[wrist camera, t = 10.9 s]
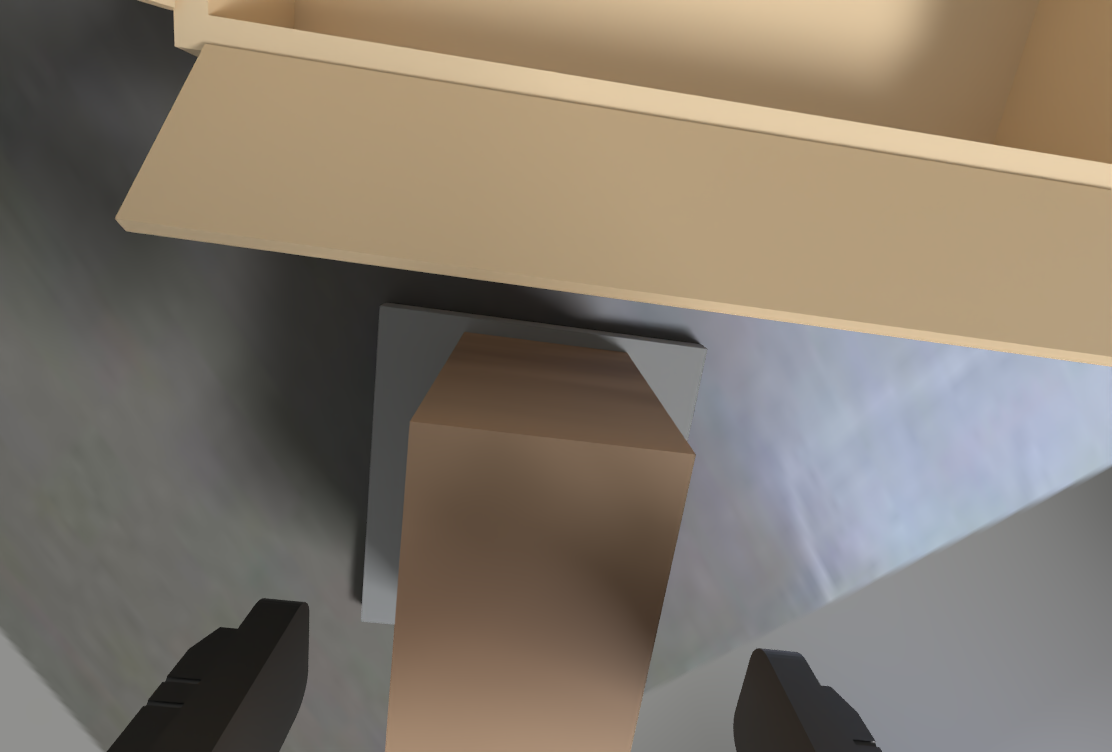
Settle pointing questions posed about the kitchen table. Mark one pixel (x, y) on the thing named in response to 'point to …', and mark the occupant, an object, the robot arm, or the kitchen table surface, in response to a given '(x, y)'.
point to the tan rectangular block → (532, 550)
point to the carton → (669, 154)
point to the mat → (410, 370)
